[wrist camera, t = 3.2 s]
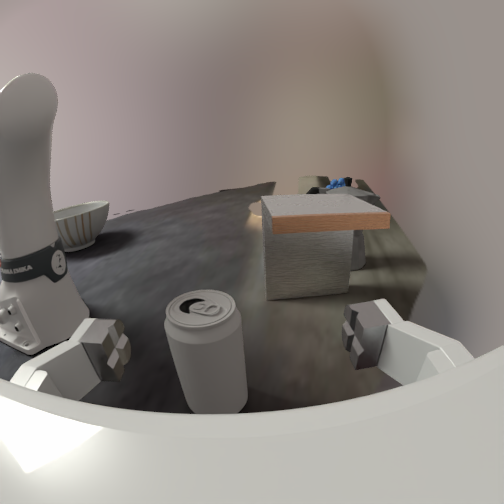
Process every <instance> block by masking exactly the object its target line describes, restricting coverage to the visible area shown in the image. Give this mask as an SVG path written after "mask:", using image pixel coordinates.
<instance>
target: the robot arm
mask: <svg viewBox="0 0 504 504" xmlns="http://www.w3.org/2000/svg"><path fill="white" fill-rule="evenodd" d="M57 105H58V99H57V93H56V90H55V87H54V86H53V84H52V83H51V82H50V81H49V80H48V79H47V78H46V77H44V76H42V75H39V74H35V73H28V74H24V75H20V76H18V77H16V78H14V79H13V80H11V81H10V82H9V83H8V84H6V86H4V87H3V88H2V89H1V91H0V252H1V259H0V267H1V275H2V282H1V285H0V341H2V342H4V343H6V344H8V345H10V346H11V347H13V348H15V349H17V350H19V351H21V352H23V353H26V354H28V355H33V354H35V353H37V352H39V351H40V350H42V349H44V348H45V347H48V346H51V345H54V344H57V343H59V342H62V341H64V340H66V339H68V338H69V337H71V338H70V339H69V340H68V341H64V342H62V343H61V344H59V345H57V346H55V347H53V348H51V349H50V350H48V351H46V352H44V353H42V354H41V355H39V356H37V357H35V358H33V359H31V360H30V361H28V362H26V363H24V364H22V365H21V367H20V368H19V369H18V371H17V372H16V374H15V375H14V376H13V378H12V379H11V380H10V382H8V381H6V380H3V379H0V504H504V345H503V346H500V347H499V348H497V349H495V350H493V351H491V352H489V353H486V354H485V355H482V356H480V357H478V358H476V359H474V358H473V357H472V355H471V354H470V353H469V352H468V351H467V349H466V348H464V346H463V345H462V344H461V343H460V342H459V341H457V340H455V339H452V338H450V337H447V336H444V335H442V334H440V333H437V332H435V331H432V330H430V329H427V328H424V327H422V326H420V325H417V324H415V323H412V322H410V321H404V320H403V319H402V318H401V317H400V316H399V314H398V313H397V312H396V311H395V310H394V309H393V307H392V306H391V305H390V304H389V303H388V301H387V300H386V299H378V300H373V301H369V302H363V303H357V304H350V305H346V307H345V310H344V316H345V318H346V320H347V321H346V322H345V323H344V324H343V326H342V340H343V344H344V347H345V349H346V350H347V351H349V352H351V353H350V360H351V362H352V364H353V366H354V368H355V370H359V369H364V368H370V367H375V366H377V367H378V368H379V369H381V370H382V371H383V372H385V373H386V374H388V375H389V376H391V377H392V378H394V379H395V380H397V381H398V382H400V383H401V384H402V385H404V386H401V387H398V388H394V389H391V390H387V391H383V392H379V393H376V394H372V395H368V396H363V397H359V398H354V399H350V400H345V401H340V402H335V403H329V404H324V405H318V406H311V407H304V408H297V409H289V410H280V411H270V412H257V413H240V414H178V413H160V412H148V411H138V410H129V409H121V408H114V407H107V406H101V405H95V404H90V403H85V402H80V401H79V400H80V399H81V398H83V397H84V396H85V395H86V394H87V393H88V392H89V391H90V390H92V389H93V388H94V387H95V386H96V385H97V384H98V383H100V382H101V381H113V382H120V380H121V378H122V375H123V373H124V371H125V369H124V367H123V365H125V364H126V363H127V362H129V359H130V357H131V346H130V342H129V339H128V338H127V337H126V336H125V335H124V334H123V332H124V330H125V328H124V325H123V323H122V321H121V320H119V319H101V318H98V319H97V318H89V309H88V307H87V306H86V305H85V303H84V302H83V300H82V298H81V297H80V295H79V293H78V291H77V289H76V287H75V285H74V283H73V280H72V278H71V276H70V273H69V271H68V268H67V262H66V255H65V251H64V247H63V243H62V240H61V237H60V236H58V232H57V228H56V223H55V218H54V212H53V207H52V200H51V192H50V162H51V142H52V129H53V123H54V119H55V115H56V112H57ZM100 380H101V381H100Z"/></svg>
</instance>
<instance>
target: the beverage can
mask: <svg viewBox="0 0 504 504" xmlns="http://www.w3.org/2000/svg"><path fill="white" fill-rule="evenodd" d="M166 316H167V317H166V320H165V323H164V327H165V331H166V335H167V339H168V342H169V346H170V350H171V353H172V357H173V360H174V363H175V367H176V370H177V373H178V377H179V380H180V383H181V386H182V389H183V392H184V395H185V398H186V401H187V404H188V406H189V407H190V409H191V410H192V411H193V412H194V413H195V414H236V413H238V412H239V411H240V410H241V409H242V408H243V407H244V406H245V404H246V402H247V398H248V390H247V379H246V368H245V357H244V345H243V333H242V321H241V314H240V312H239V310H238V309H237V308H236V306H235V301H234V299H233V298H232V297H231V296H230V295H228V294H226V293H224V292H221V291H216V290H197V291H192V292H188V293H185V294H182V295H180V296H178V297H176V298H175V299H173V300H172V301H171V302H170V303H169V304H168V306H167V308H166Z"/></svg>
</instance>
